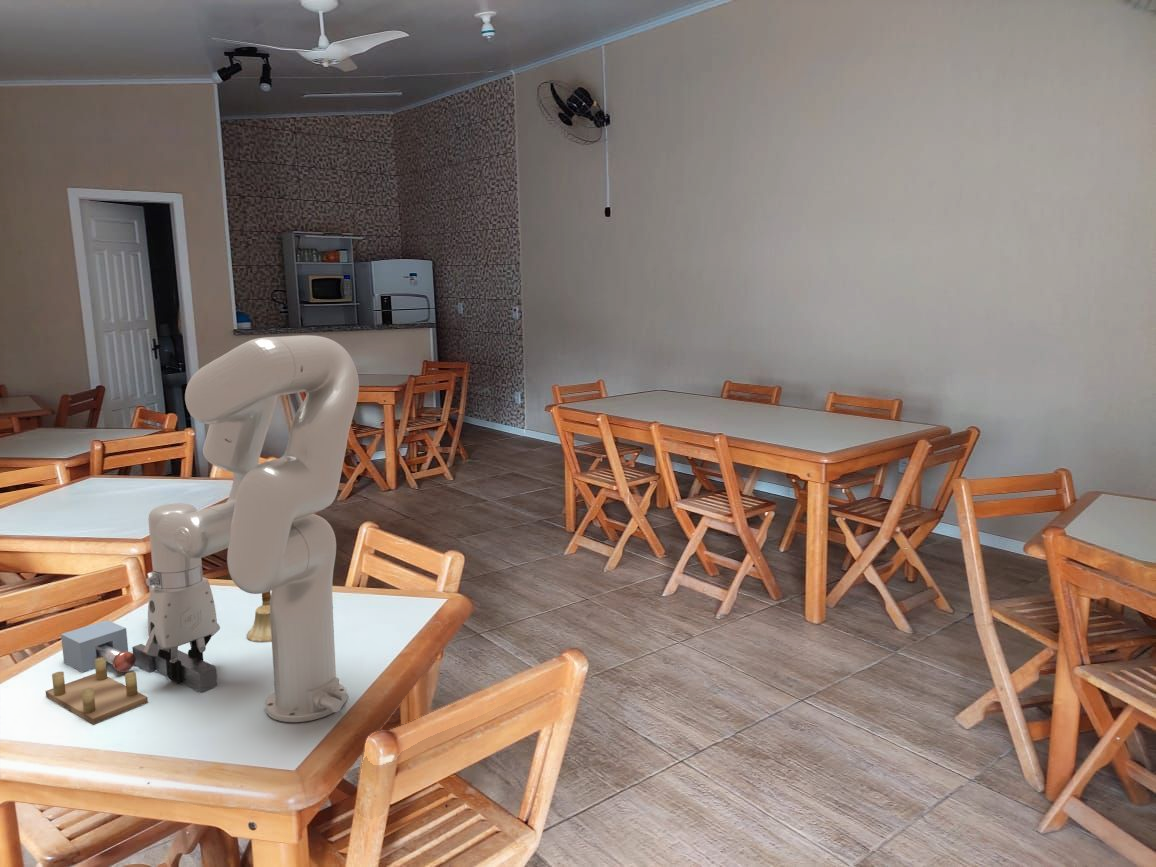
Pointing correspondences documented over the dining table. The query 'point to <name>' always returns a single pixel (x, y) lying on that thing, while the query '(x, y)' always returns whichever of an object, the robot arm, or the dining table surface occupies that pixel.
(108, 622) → the pin block
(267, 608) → the hand bell
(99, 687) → the rack
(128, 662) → the pin
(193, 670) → the grey bar
